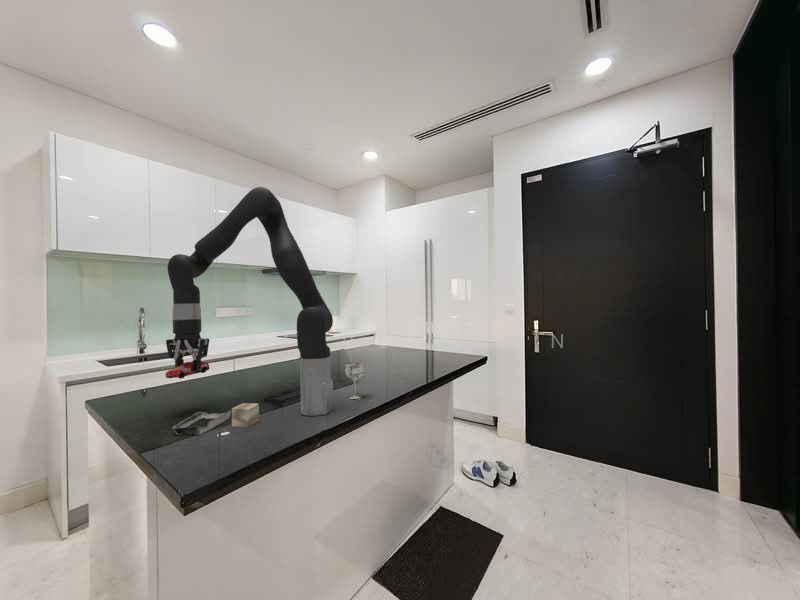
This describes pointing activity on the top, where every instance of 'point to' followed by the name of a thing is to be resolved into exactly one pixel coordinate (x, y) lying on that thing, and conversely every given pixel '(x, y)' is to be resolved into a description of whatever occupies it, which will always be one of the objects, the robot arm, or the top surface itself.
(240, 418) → the birch block
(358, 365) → the wineglass
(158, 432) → the top surface
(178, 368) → the race car
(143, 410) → the top surface
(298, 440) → the top surface
